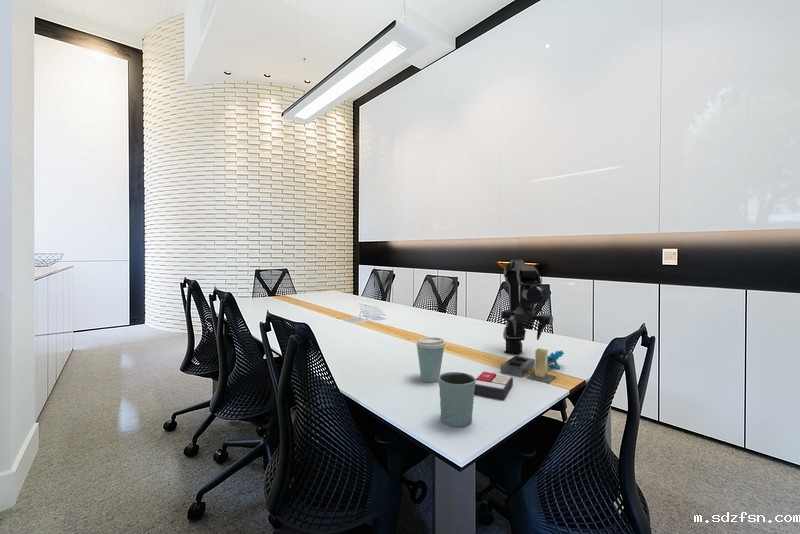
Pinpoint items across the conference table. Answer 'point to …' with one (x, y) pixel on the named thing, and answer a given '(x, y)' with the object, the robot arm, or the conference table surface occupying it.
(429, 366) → the disposable coffee cup
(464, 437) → the conference table surface
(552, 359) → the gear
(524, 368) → the grey cinder block
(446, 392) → the green tumbler cup
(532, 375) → the rubber pad
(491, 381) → the calculator
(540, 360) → the brass peg
